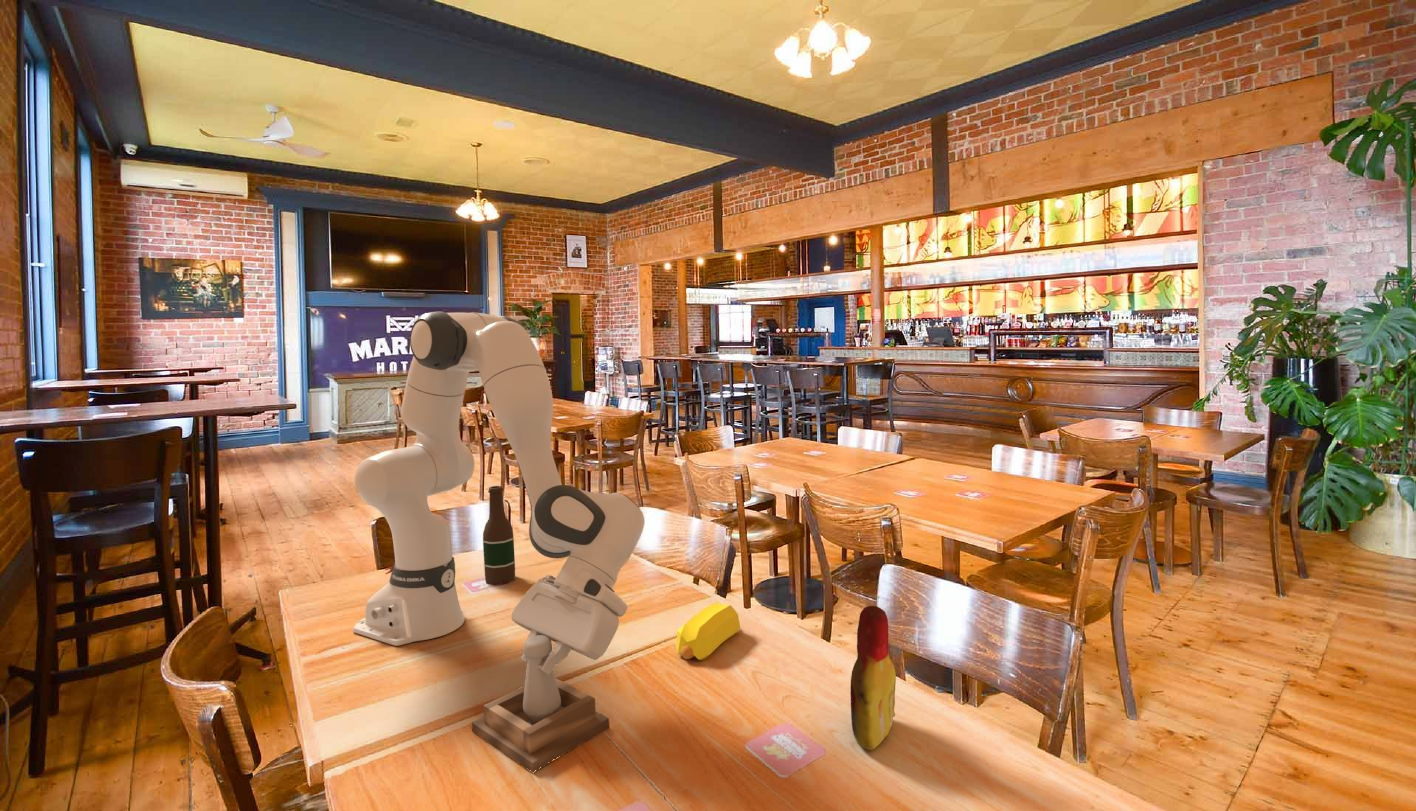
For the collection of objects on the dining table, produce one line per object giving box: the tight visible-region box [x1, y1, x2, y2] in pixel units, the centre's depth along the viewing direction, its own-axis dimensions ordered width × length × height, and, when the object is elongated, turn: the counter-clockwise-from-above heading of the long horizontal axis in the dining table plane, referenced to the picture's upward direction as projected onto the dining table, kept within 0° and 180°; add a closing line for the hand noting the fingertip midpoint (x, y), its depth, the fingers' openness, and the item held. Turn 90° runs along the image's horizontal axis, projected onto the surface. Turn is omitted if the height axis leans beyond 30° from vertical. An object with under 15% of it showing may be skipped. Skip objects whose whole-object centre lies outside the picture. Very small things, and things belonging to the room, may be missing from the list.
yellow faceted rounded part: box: [675, 601, 741, 661], centre depth 131 cm, size 18×7×8 cm
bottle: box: [849, 605, 897, 751], centre depth 99 cm, size 12×6×20 cm, turn 152°
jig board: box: [471, 677, 610, 773], centre depth 103 cm, size 16×14×4 cm
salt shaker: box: [522, 635, 561, 725], centre depth 103 cm, size 6×6×13 cm
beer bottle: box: [482, 485, 516, 586], centre depth 168 cm, size 8×8×24 cm
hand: (534, 667), depth 102 cm, fingers closed on salt shaker, 3 cm apart
